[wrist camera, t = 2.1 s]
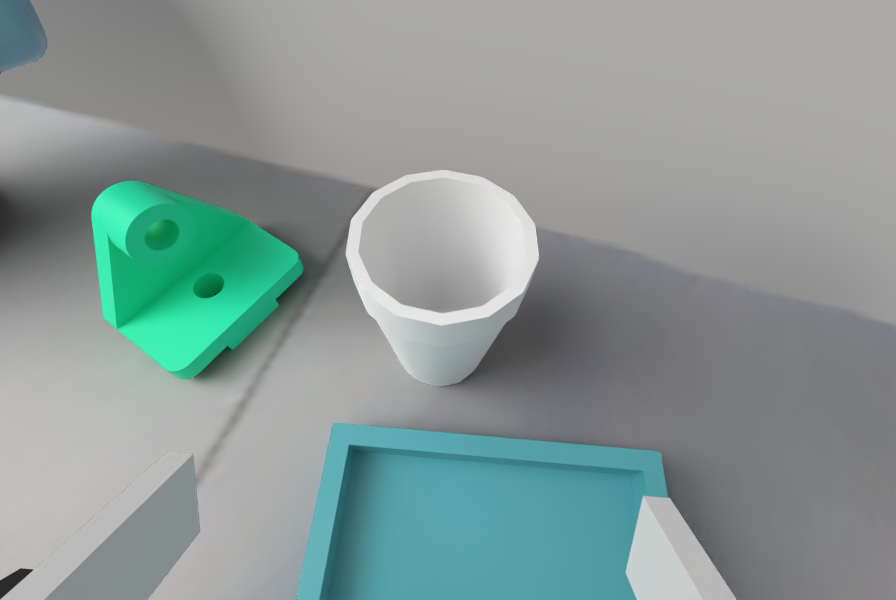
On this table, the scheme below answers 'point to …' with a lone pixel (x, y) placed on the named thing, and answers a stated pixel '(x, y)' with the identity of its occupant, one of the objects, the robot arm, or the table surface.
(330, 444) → the teal tray
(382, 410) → the table surface
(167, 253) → the camera mount
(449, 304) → the foam cup
